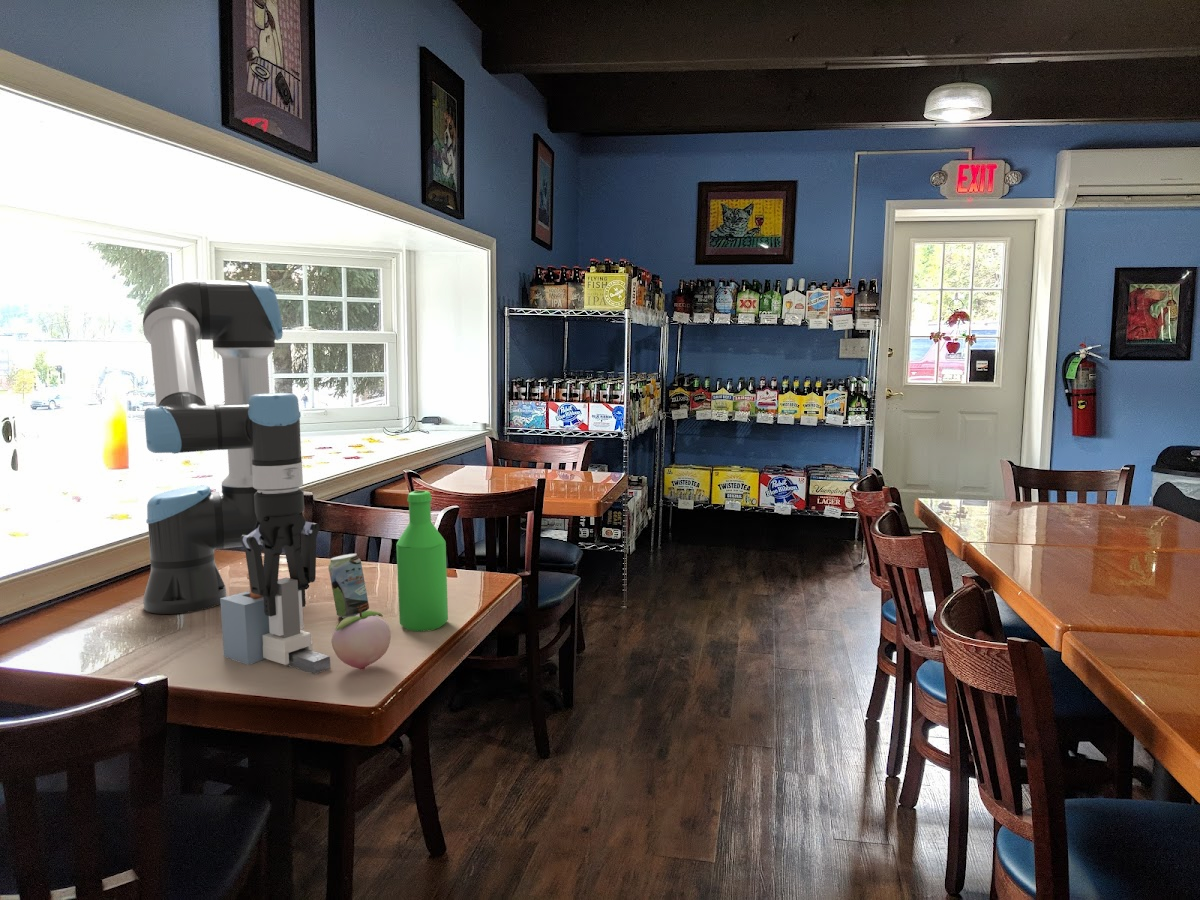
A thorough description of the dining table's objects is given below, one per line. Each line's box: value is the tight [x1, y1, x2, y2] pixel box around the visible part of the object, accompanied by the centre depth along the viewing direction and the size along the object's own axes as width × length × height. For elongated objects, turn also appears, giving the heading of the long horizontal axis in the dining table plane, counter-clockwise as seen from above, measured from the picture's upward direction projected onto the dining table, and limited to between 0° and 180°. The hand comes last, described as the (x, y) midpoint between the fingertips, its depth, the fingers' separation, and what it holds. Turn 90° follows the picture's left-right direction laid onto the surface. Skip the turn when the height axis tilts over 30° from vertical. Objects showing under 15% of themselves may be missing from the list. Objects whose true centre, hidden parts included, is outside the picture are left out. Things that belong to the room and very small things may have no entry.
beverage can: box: [328, 553, 370, 619], centre depth 163 cm, size 6×7×12 cm
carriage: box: [262, 576, 314, 666], centre depth 140 cm, size 6×5×13 cm
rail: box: [286, 648, 331, 675], centre depth 139 cm, size 12×3×2 cm, turn 55°
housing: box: [219, 590, 270, 666], centre depth 144 cm, size 7×10×10 cm
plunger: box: [246, 572, 263, 599], centre depth 144 cm, size 4×4×5 cm
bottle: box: [396, 490, 449, 632], centre depth 156 cm, size 9×9×25 cm
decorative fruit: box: [331, 608, 392, 671], centre depth 136 cm, size 9×8×10 cm
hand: (286, 630), depth 140 cm, fingers closed on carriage, 3 cm apart
